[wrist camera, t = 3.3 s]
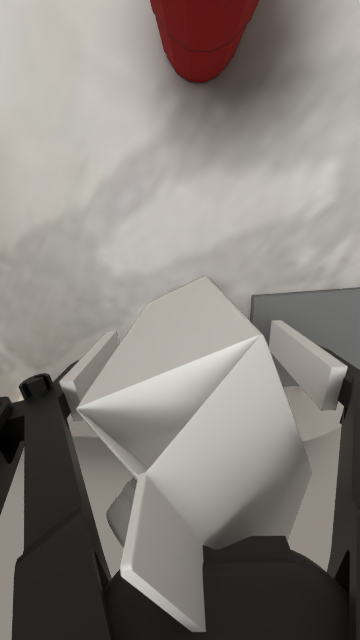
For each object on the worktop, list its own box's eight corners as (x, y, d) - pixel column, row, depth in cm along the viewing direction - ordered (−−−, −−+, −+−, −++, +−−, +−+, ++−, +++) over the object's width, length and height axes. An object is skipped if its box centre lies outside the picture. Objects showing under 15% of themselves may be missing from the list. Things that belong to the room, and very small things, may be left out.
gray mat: (246, 384, 24) (248, 388, 24) (251, 295, 20) (254, 296, 20) (371, 377, 24) (377, 381, 23) (403, 284, 20) (412, 285, 19)
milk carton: (205, 274, 20) (436, 502, 2) (229, 330, 22) (437, 681, 4) (147, 302, 21) (-67, 610, 3) (175, 352, 23) (149, 703, 5)
